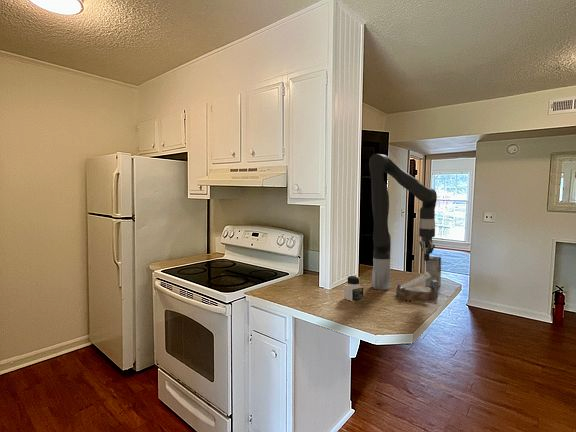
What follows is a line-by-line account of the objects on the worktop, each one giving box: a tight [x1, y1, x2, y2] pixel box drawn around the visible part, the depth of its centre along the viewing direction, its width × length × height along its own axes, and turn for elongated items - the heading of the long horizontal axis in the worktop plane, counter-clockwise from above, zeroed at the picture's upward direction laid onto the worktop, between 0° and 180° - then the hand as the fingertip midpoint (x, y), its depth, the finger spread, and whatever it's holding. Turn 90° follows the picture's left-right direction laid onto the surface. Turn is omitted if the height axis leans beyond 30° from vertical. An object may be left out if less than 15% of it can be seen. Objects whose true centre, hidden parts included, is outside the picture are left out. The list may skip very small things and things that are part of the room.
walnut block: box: [395, 284, 436, 301], centre depth 168 cm, size 17×9×6 cm, turn 91°
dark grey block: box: [430, 280, 439, 298], centre depth 168 cm, size 2×3×8 cm
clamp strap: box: [399, 271, 431, 289], centre depth 167 cm, size 17×4×2 cm, turn 90°
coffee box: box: [425, 255, 442, 288], centre depth 187 cm, size 9×6×16 cm
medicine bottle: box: [343, 275, 364, 303], centre depth 165 cm, size 7×7×12 cm
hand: (426, 260), depth 167 cm, fingers closed
